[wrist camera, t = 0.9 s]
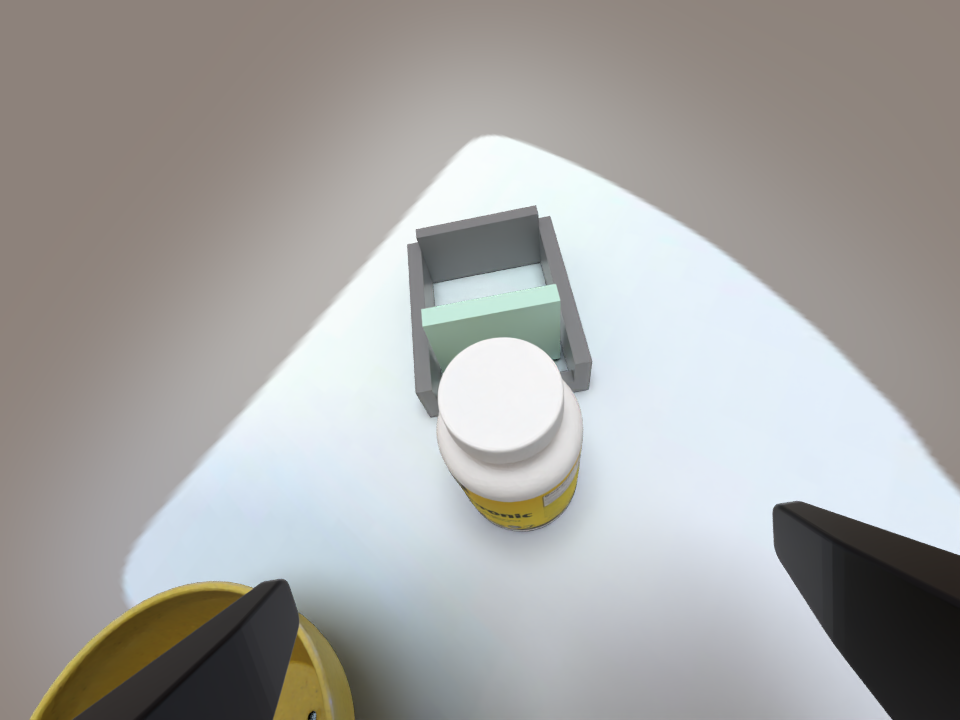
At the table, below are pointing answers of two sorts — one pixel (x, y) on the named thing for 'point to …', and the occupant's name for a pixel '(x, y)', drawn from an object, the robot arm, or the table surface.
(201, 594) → the flower pot
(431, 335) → the plate
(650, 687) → the table surface
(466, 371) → the supplement bottle
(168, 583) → the table surface
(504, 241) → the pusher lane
